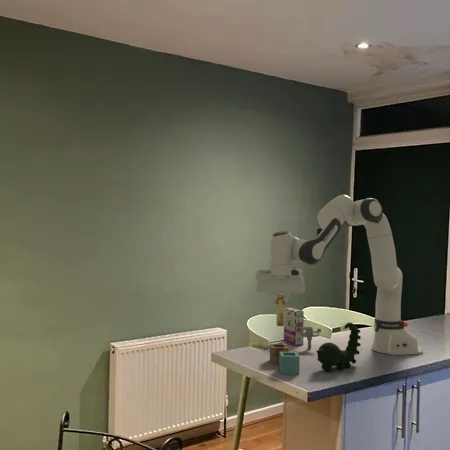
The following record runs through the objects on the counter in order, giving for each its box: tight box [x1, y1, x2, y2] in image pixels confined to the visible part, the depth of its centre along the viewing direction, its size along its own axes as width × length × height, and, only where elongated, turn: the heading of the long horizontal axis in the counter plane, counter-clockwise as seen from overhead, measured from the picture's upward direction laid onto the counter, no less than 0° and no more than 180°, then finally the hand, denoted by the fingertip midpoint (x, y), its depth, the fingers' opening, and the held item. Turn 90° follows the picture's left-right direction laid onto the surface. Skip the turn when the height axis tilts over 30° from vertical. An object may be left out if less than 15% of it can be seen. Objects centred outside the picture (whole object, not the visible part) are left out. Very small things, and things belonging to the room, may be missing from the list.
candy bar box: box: [283, 307, 305, 346], centre depth 260 cm, size 11×5×16 cm, turn 23°
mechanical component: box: [298, 326, 322, 351], centre depth 248 cm, size 3×10×10 cm, turn 78°
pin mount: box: [269, 343, 289, 366], centre depth 226 cm, size 7×7×7 cm
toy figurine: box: [315, 322, 362, 372], centre depth 218 cm, size 9×19×25 cm
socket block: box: [278, 351, 301, 375], centre depth 213 cm, size 7×7×7 cm
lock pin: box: [275, 293, 286, 327], centre depth 223 cm, size 4×4×13 cm
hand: (280, 303), depth 223 cm, fingers closed on lock pin, 3 cm apart
